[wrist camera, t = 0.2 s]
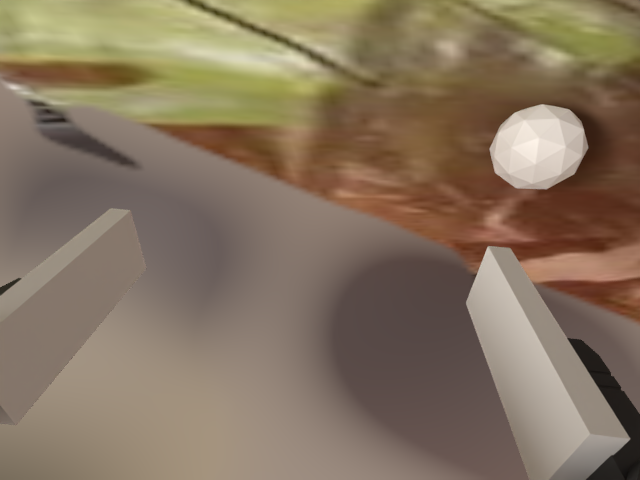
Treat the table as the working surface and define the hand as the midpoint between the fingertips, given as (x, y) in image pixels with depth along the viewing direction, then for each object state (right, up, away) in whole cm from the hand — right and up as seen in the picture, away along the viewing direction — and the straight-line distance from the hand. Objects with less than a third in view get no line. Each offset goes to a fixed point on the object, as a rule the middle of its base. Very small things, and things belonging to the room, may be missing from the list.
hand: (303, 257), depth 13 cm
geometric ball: (+21, +11, +23) cm, 34 cm away
